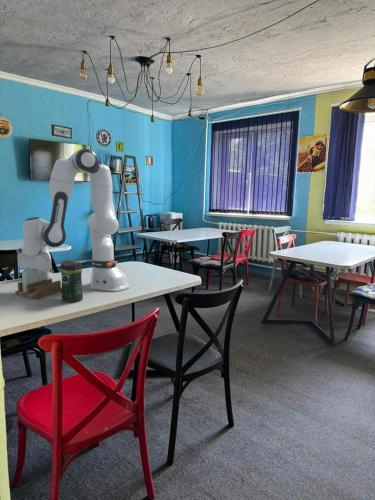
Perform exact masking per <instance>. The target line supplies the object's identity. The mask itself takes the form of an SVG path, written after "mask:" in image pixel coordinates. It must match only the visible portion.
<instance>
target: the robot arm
mask: <svg viewBox="0 0 375 500" xmlns="http://www.w3.org/2000/svg"><path fill="white" fill-rule="evenodd" d="M78 173H87V175H88V177H89V180H90V182H89V185H90V186H89V187H90V190H89V191H90V203H91V205H92V209H93V213H91V214H90V215H89V216H88V218H87V224H88V229H89V233H90V240H91V249H92V250H91V251H92V254H91V255H92V259H91V267H92V269H91V278H90V279H91V280H90V284H89V286H90V288H89V289H92V290H93V289H94V290H99V291H105V292H106V291H109V292H120V291H123V290H127V289H129V288H131V287H132V284H131V283H129V282H128V280H127V276H126V275H125V273H124V272H123V271H122V270H120V268H119V267H117V264H118V262H119V261H116V260H115V258H114V257H115V256H114V243H113V240H112V235H113V234H115V233H116V232H118V229H119V225H120V224H119V221H118V218H117V215H116V209H115V205H114V200H113V199H114V197H113V179H112V173H111V168H110V167H109V166H108V165H106V164H103V163H101V161H100V159H99V157H98V155H97V153H95V152H94V151H93V150H91V149H89V148H81V149H79V150H76V151H75V152H73V154H72V155H71V156H70V157H69V158H68V159H67V158H58V159H57V160H56V161H55V162H54V165H53V168H52V169H51V173H50V178H49V187H48V188H49V190H48V191H49V195H50V198H51V203H52V204H51V205H52V209H51V214H50V218H49V219H50V220H49V221H47V220H44V219H43V218H42V217H40V216H33V217H28V218H26V219H24V221H23V223H22V237H23V246H22V247H20V248H16V253H17V265H18V267H19V268H24V271H25V270H30V269H34V270H38V271H39V273H40V275H39V276H38V277H39V278H38V279H43V275H44V273H45V272H47V271H50V270H51V268H52V260H51V261H50V257H49V255H48V254H47V253H46V252H44V249H43V243H46V244H47V245H48V247H50V248H59V247H61V246H62V245H64V243H65V242H66V239H67V235H66V230H65V220H66V215H67V208H68V205H69V204H68V203H69V201H70V199H71V197H72V193H73V189H74V185H75V178H76V177H77V175H78Z"/></svg>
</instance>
